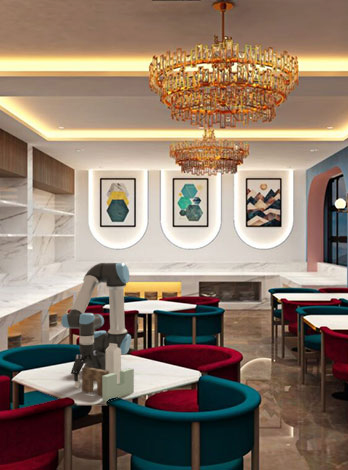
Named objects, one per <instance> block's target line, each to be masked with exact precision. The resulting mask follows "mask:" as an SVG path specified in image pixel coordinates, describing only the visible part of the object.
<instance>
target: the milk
mask: <svg viewBox="0 0 348 470" xmlns="http://www.w3.org/2000/svg"><path fill="white" fill-rule="evenodd" d="M106 370H107V371H109V374H111V373H115V374H117V384H118V383H120V371H121V370H122V354H121V349H120V348H118V347H117V344H113V343H109V347H108V348H107V349H106Z"/></svg>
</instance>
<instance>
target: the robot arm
mask: <svg viewBox="0 0 348 470" xmlns="http://www.w3.org/2000/svg"><path fill="white" fill-rule="evenodd" d="M82 280H83V283H82V285H81V287H80V289H79V291H78V294H77V296H76V298H75V300H74V302H73V304H72V307H71V308H70V310H69V312H68V313H64V314H62V316H61V320H60V321H61V323H60V324H61V326H62V327H63V328H65V329H79V354H75V359H74V362H73V365H72V369H71V371H70V374H71V375H73V380H74V388H76V389H80V388H81V385H80V384H81V383H80V382H81V379H80V378H81V375H80V372H81V371H82V368H83V367H90V368H96V369H101V370H106V349H107V348H108V347H109V343H113V344H117V347H118V348H120V349H121V355H126V354H128V353H129V350H130V348H131V343H132V336H131V334H129V333H128V330H127V329H126V325H125V297H124V296H125V294H124V293H125V291H124V290H125V289H124V288H126V286H127V284H128V282H129V281H130V271H129V267H128V266H127V265H126V264H125V263H122V262H100V263H96V264H95V265H94V266H92V267H91V268H90V269H89V270H88V271H87V272H86V273H85V274H84V277H83V279H82ZM102 283H106V284H105V285H106V286H105V287H106V288H108V293H109V294H108V296H109V298H108V299H109V326H110V327H109V329H108V331H106V330H98V331H97V329H100V328H101V327H102V326H103V325H104V324H105V319H104V317H103V315H102V314H99V313H93V312H85V311H86V310H87V307H88V305H89V303H90V301H91V298H92V296H93V294H94V292H95V290H96V288H98V287H99V285H100V284H102ZM95 330H96V331H95ZM94 383H97V381H94Z"/></svg>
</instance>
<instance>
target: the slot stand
mask: <svg viewBox="0 0 348 470" xmlns="http://www.w3.org/2000/svg"><path fill="white" fill-rule="evenodd" d="M134 370H135V369H134V368H130V367H129V368H125V369H121V371H120V383H118V384H117V374H115V373H111V374H107V375H104V376H102V395H101V396H102V397H101V398H102V400H101V401H102V402H106V403H108V402H109V401H108V400H109V399H111V398H115V397H118V398H117V399H119V398H122V397H124V396H127V395H130V394H133V393H134V392H135V391H134V390H135V388H134V387H135V385H134V384H135V375H134V374H135V371H134ZM107 401H108V402H107Z"/></svg>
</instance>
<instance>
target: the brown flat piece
mask: <svg viewBox="0 0 348 470" xmlns="http://www.w3.org/2000/svg"><path fill="white" fill-rule="evenodd" d="M107 374H109V371H107V370H101V369H96V368H90V367H84V366H83V367H82V369H81V375H82V376H81V392H85V393H88V394H89V393H93V392H95V391H94V387H95V385H94V383H95V382H94V381H97V382H96V388H97V389H96V390H97V391H96V395H98V396H102V376H104V375H107Z"/></svg>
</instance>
